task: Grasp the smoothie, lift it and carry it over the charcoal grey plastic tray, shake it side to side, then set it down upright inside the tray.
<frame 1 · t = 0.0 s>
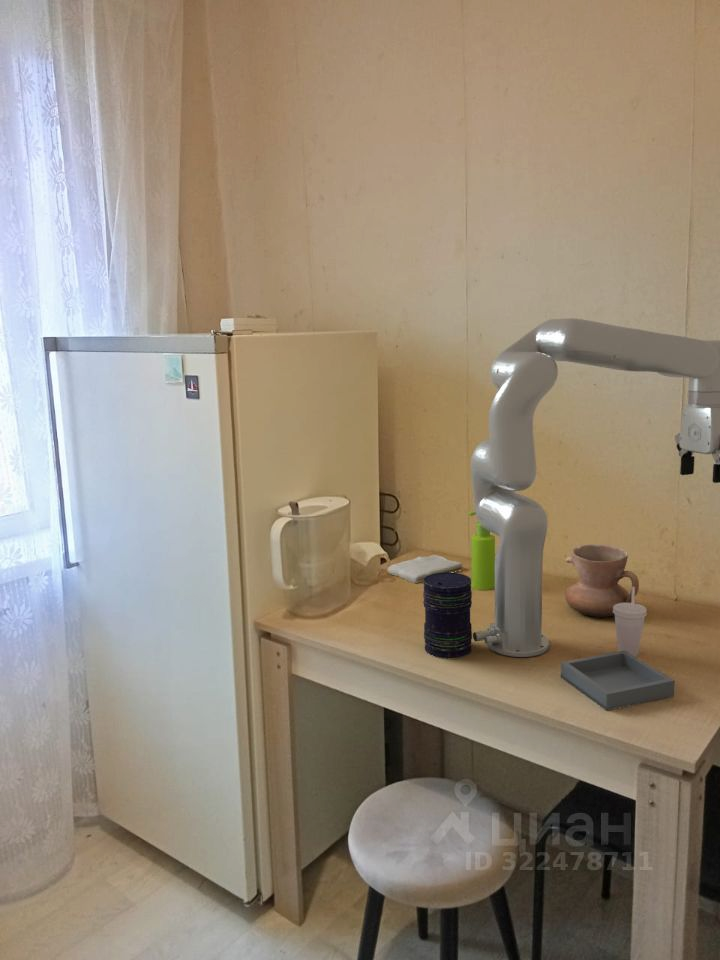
hand: (702, 478, 169), 31 cm above the table, tool pointing down, fingers open, 9 cm apart
tray: (615, 686, 142), on the table
smoothie: (628, 654, 155), on the table
soap dispenser: (481, 587, 198), on the table
storage jar: (448, 649, 161), on the table
ceramic jug: (600, 612, 179), on the table
washcloth: (426, 574, 211), on the table
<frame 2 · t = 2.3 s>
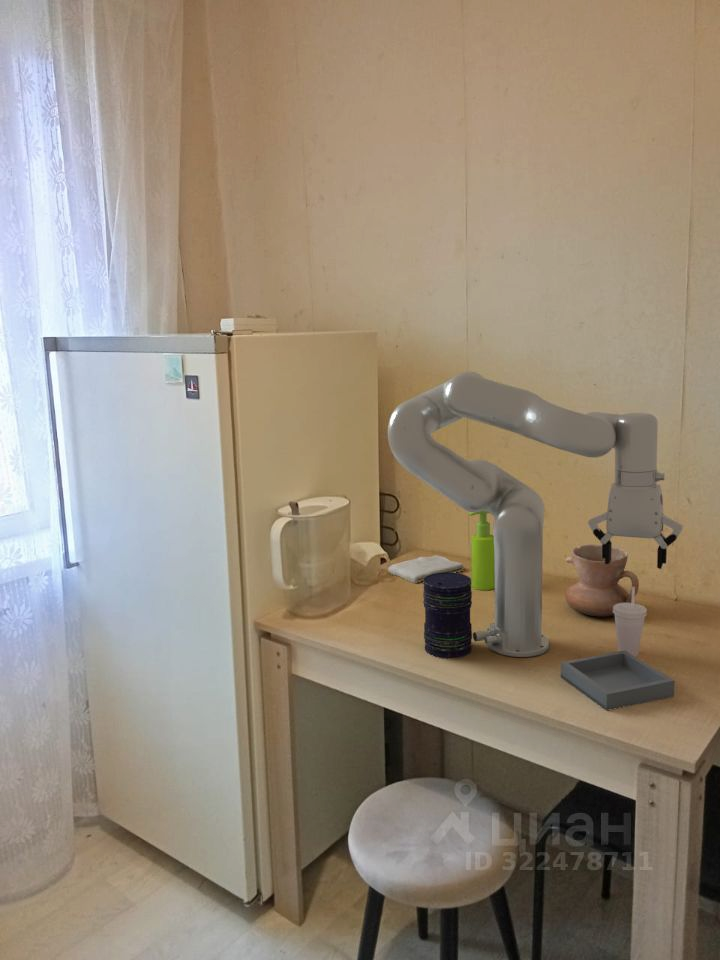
hand: (633, 564, 152), 19 cm above the table, tool pointing down, fingers open, 9 cm apart
nothing on the table moved.
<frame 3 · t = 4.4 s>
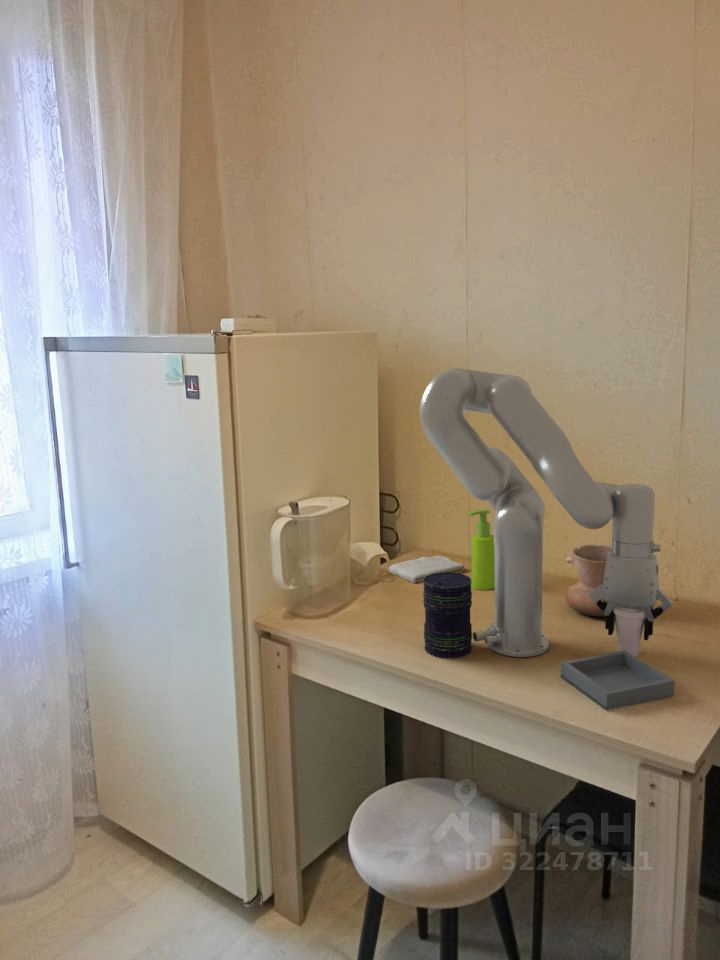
hand: (628, 634, 155), 4 cm above the table, tool pointing down, fingers closed on smoothie, 6 cm apart
smoothie: (628, 654, 155), on the table, touching gripper
everything else where it was.
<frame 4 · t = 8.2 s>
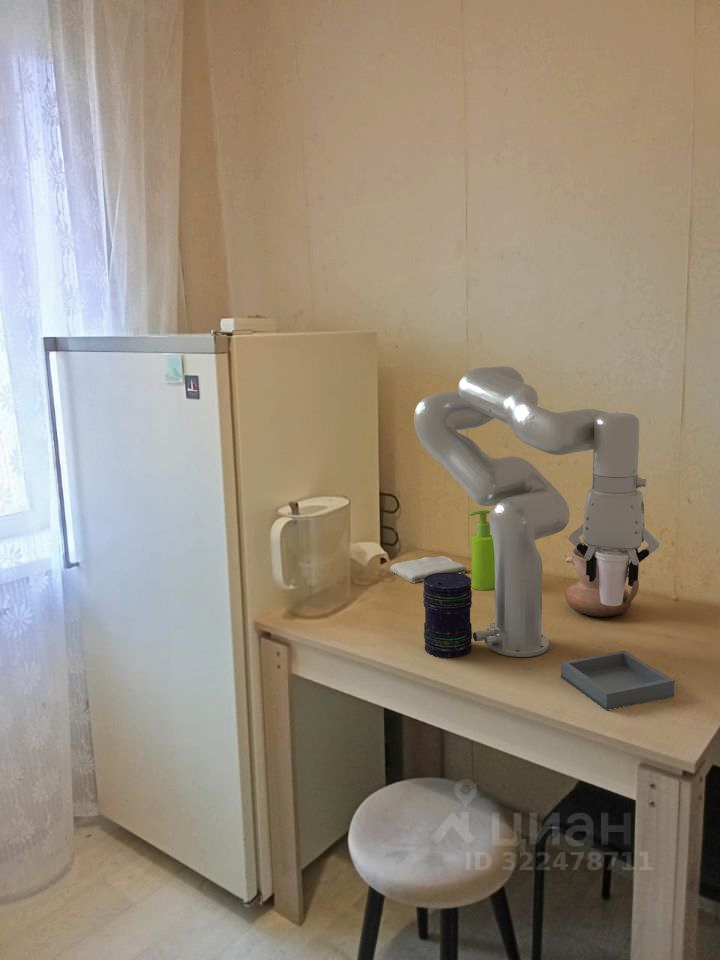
hand: (611, 580, 140), 19 cm above the table, tool pointing down, fingers closed on smoothie, 6 cm apart
smoothie: (611, 603, 141), point 15 cm above the table, touching gripper
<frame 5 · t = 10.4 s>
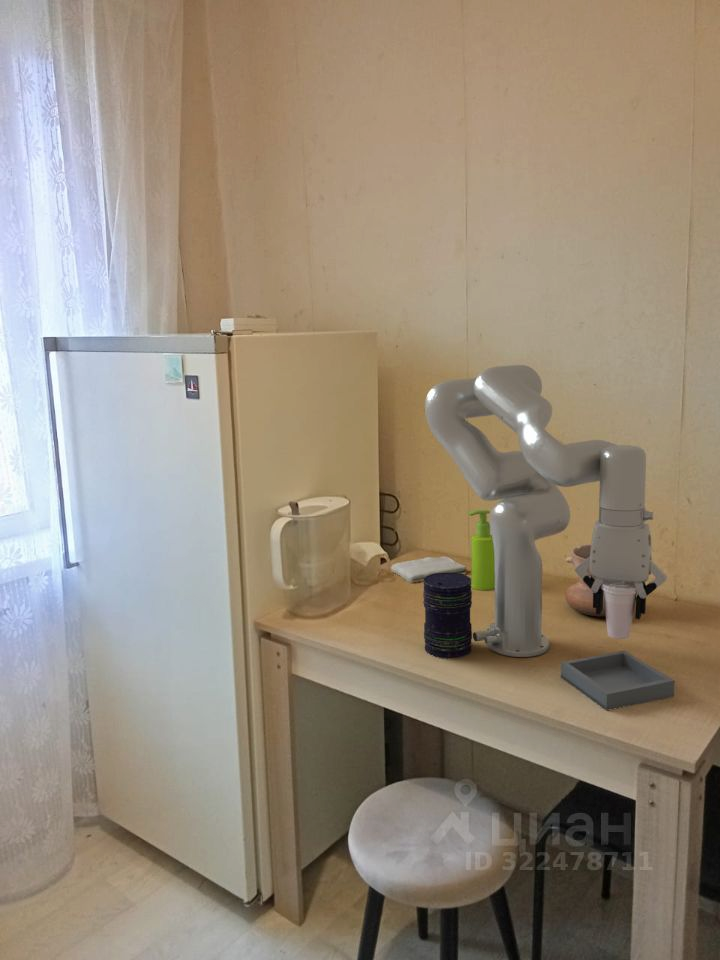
hand: (618, 613, 139), 14 cm above the table, tool pointing down, fingers closed on smoothie, 6 cm apart
smoothie: (618, 636, 140), point 10 cm above the table, touching gripper
when the fingers open (6 cm above the table, at t = 12.2 s): smoothie drops 2 cm, resting on tray.
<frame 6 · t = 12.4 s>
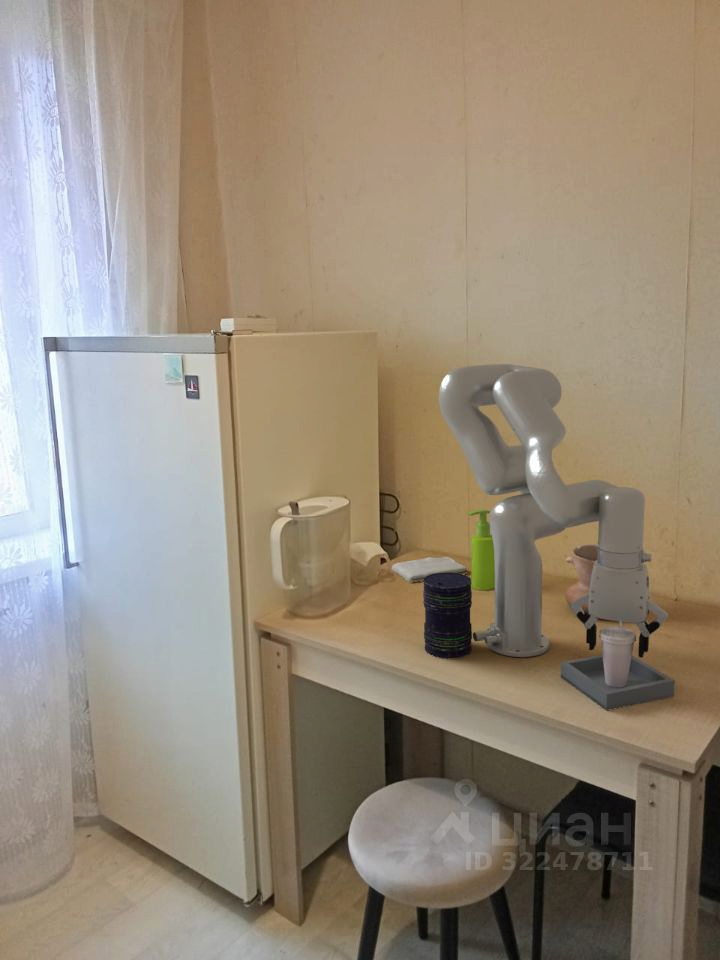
hand: (616, 650, 140), 7 cm above the table, tool pointing down, fingers open, 8 cm apart
smoothie: (615, 684, 142), resting on tray
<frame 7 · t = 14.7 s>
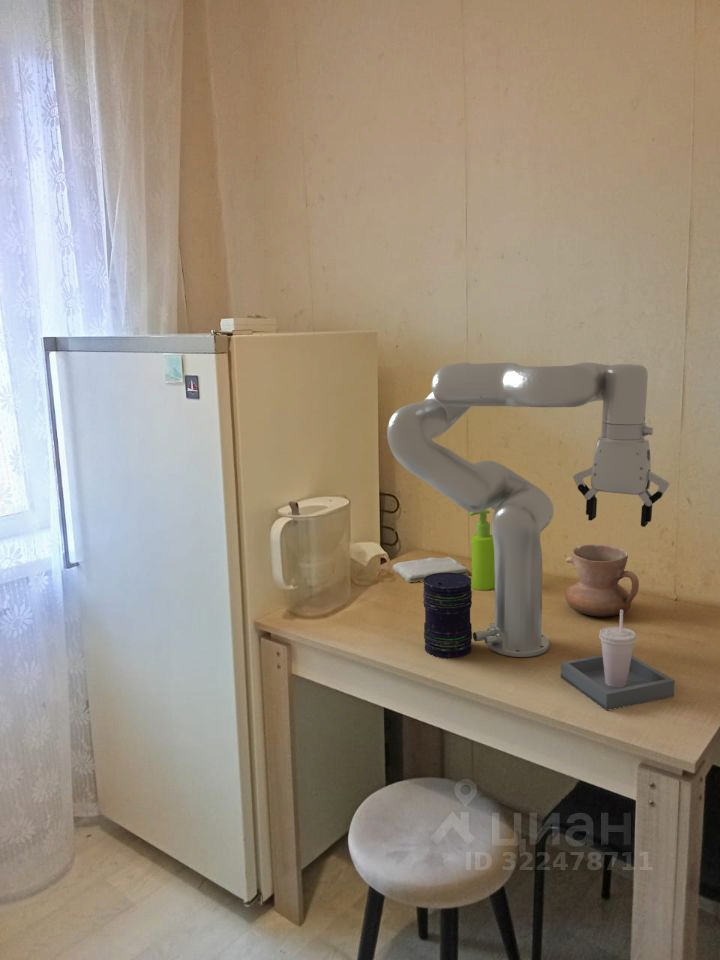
hand: (617, 522, 147), 28 cm above the table, tool pointing down, fingers open, 9 cm apart
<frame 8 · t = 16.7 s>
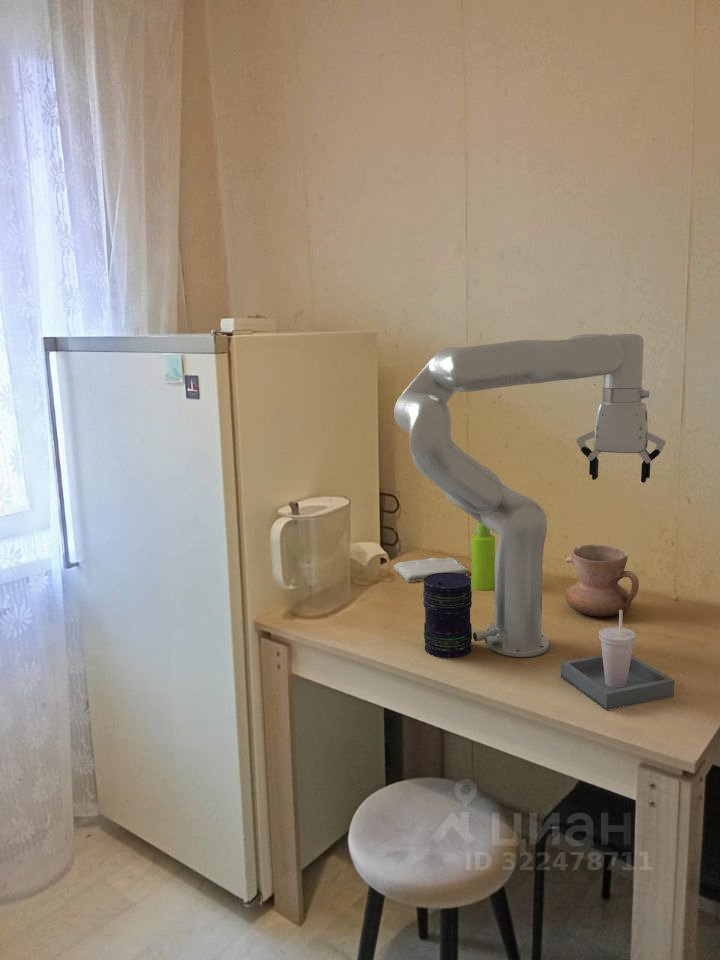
hand: (619, 479, 159), 33 cm above the table, tool pointing down, fingers open, 9 cm apart
at the end: smoothie inside the target area on the tray (0.0 cm from its centre), point 0.4 cm above the tray's base; smoothie tilted 0°; the gripper is holding nothing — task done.
